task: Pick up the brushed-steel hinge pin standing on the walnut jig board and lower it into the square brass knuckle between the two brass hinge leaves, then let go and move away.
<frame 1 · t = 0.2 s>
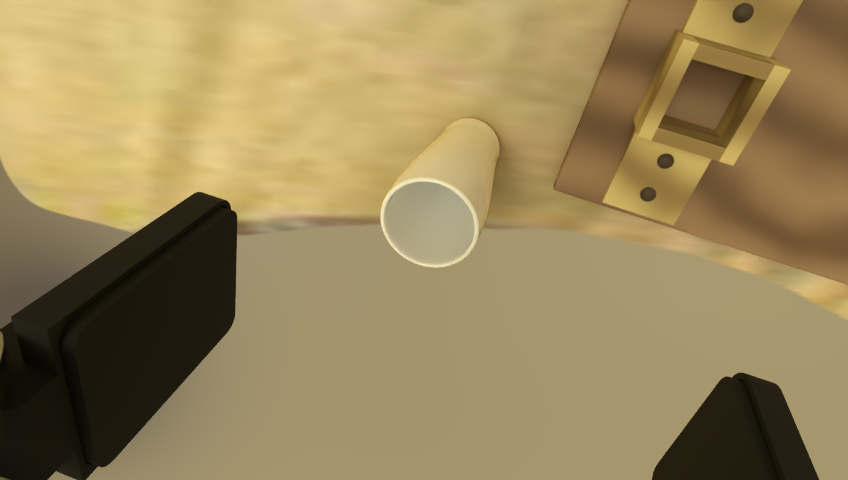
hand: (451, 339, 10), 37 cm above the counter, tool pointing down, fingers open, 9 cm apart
hinge board: (804, 117, 39), on the counter
drinking glass: (470, 144, 47), on the counter
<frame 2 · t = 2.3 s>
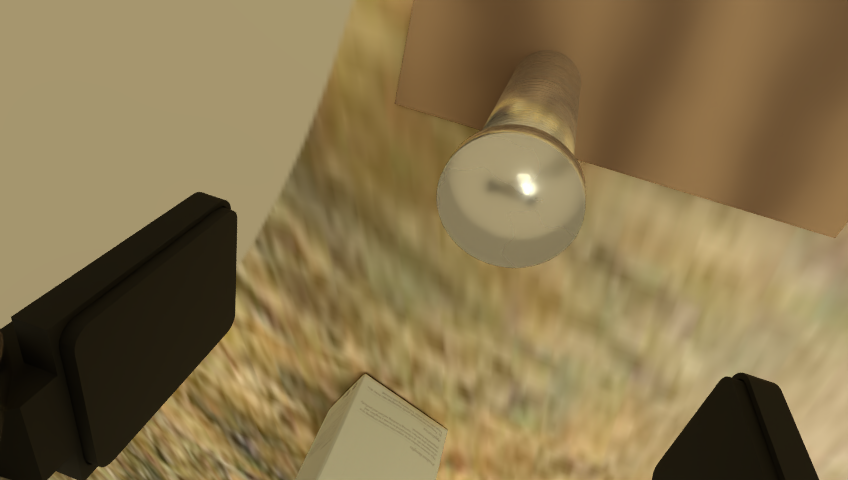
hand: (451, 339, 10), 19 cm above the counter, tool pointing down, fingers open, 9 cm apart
hinge pin: (545, 85, 25), point 1 cm above the counter, touching hinge board
skincare box: (393, 415, 42), on the counter
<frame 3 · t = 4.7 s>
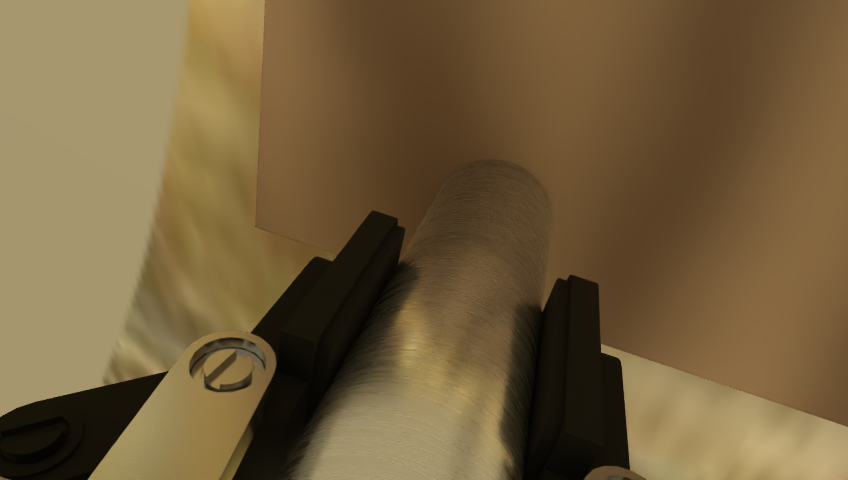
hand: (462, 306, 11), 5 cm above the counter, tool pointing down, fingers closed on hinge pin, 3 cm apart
hinge pin: (492, 214, 15), point 1 cm above the counter, touching gripper, hinge board
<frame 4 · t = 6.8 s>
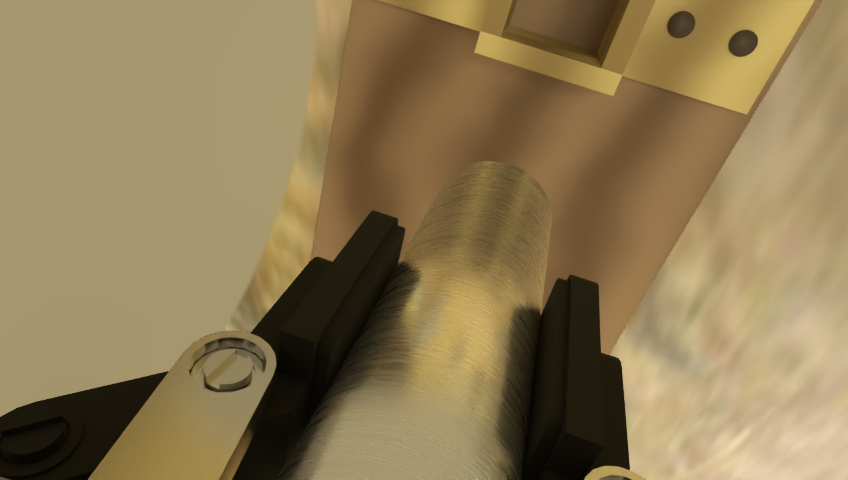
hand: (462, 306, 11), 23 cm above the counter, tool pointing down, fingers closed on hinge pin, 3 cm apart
hinge board: (518, 130, 32), on the counter
hinge pin: (491, 216, 15), point 18 cm above the counter, touching gripper
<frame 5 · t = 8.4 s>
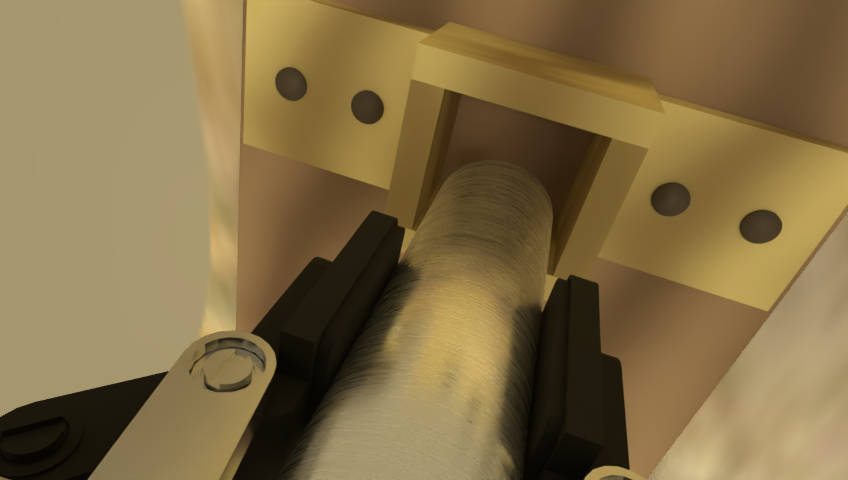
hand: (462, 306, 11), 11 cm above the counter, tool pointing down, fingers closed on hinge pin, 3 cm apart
hinge board: (467, 292, 25), on the counter
hinge pin: (492, 215, 15), point 7 cm above the counter, touching gripper
when the fingers open (7 cm above the counter, at t = 9.4 s): hinge pin drops 2 cm, resting on hinge board.
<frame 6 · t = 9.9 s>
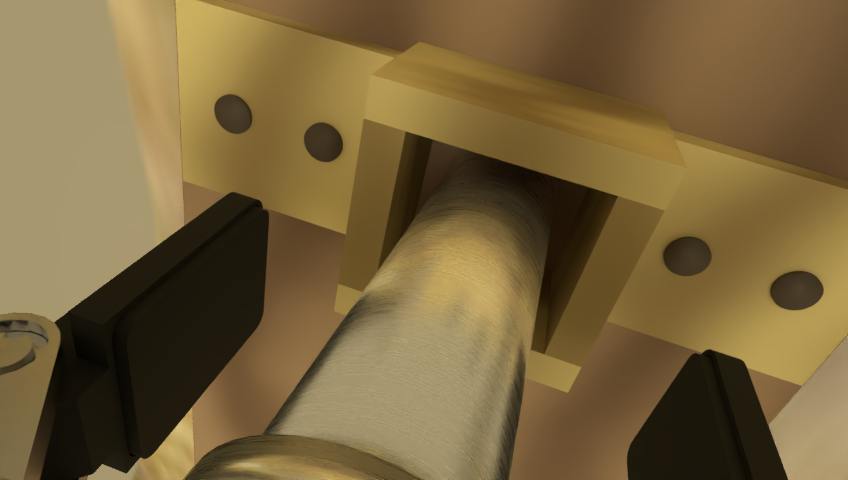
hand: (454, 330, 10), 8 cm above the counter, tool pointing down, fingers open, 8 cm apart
hinge board: (449, 346, 22), on the counter
hinge pin: (502, 185, 16), point 1 cm above the counter, touching hinge board
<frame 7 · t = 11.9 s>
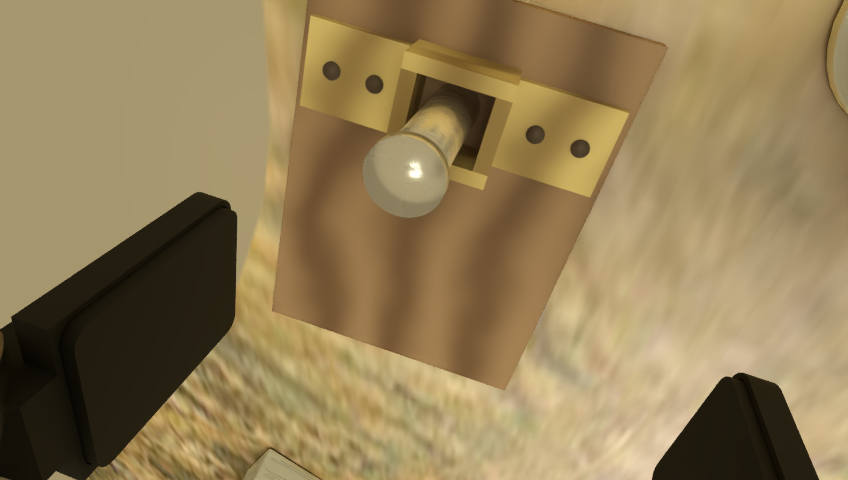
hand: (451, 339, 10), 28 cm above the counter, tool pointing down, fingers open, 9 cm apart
hinge board: (430, 200, 41), on the counter
hinge pin: (456, 105, 35), point 1 cm above the counter, touching hinge board
skincare box: (291, 473, 62), on the counter
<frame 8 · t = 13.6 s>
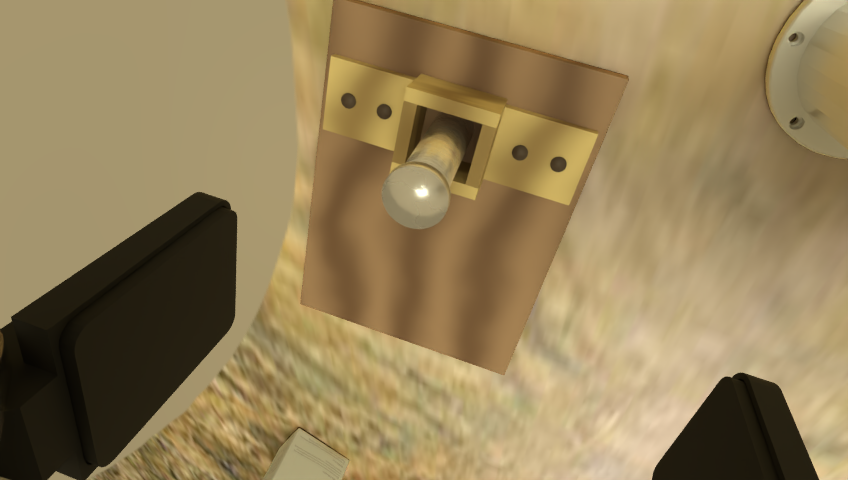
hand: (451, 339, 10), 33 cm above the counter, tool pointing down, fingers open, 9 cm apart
hinge board: (434, 208, 47), on the counter
hinge pin: (453, 128, 42), point 1 cm above the counter, touching hinge board
skincare box: (317, 451, 70), on the counter
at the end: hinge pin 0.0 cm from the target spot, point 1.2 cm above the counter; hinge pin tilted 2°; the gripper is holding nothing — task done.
